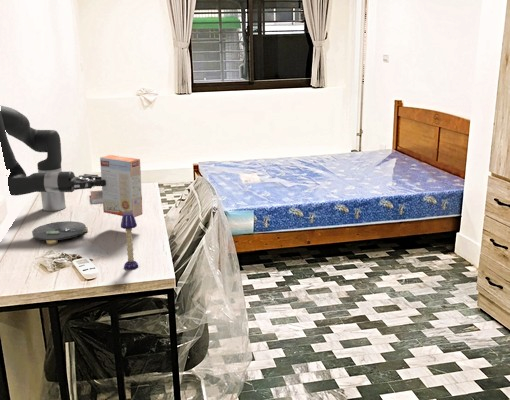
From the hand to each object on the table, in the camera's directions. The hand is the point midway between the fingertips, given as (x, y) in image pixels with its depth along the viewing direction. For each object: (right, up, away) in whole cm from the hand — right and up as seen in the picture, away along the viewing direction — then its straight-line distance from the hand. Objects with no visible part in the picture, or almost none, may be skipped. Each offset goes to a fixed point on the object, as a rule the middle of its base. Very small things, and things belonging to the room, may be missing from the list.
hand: (106, 181), depth 198 cm
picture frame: (-9, -6, +50) cm, 51 cm away
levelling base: (-16, -20, -3) cm, 26 cm away
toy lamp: (+17, -27, -33) cm, 46 cm away
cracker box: (+6, -12, +1) cm, 13 cm away
